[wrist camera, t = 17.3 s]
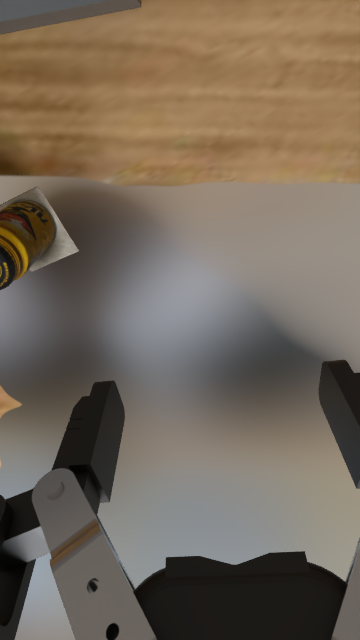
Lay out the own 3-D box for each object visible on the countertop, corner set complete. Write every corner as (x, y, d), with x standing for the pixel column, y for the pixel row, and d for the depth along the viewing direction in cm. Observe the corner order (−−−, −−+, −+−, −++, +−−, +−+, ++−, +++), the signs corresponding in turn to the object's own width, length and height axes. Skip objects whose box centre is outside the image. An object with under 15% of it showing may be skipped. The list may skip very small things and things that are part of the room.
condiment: (38, 185, 38) (-14, 219, 28) (79, 250, 42) (47, 300, 32) (-13, 211, 39) (-79, 251, 30) (32, 270, 44) (-13, 323, 34)
